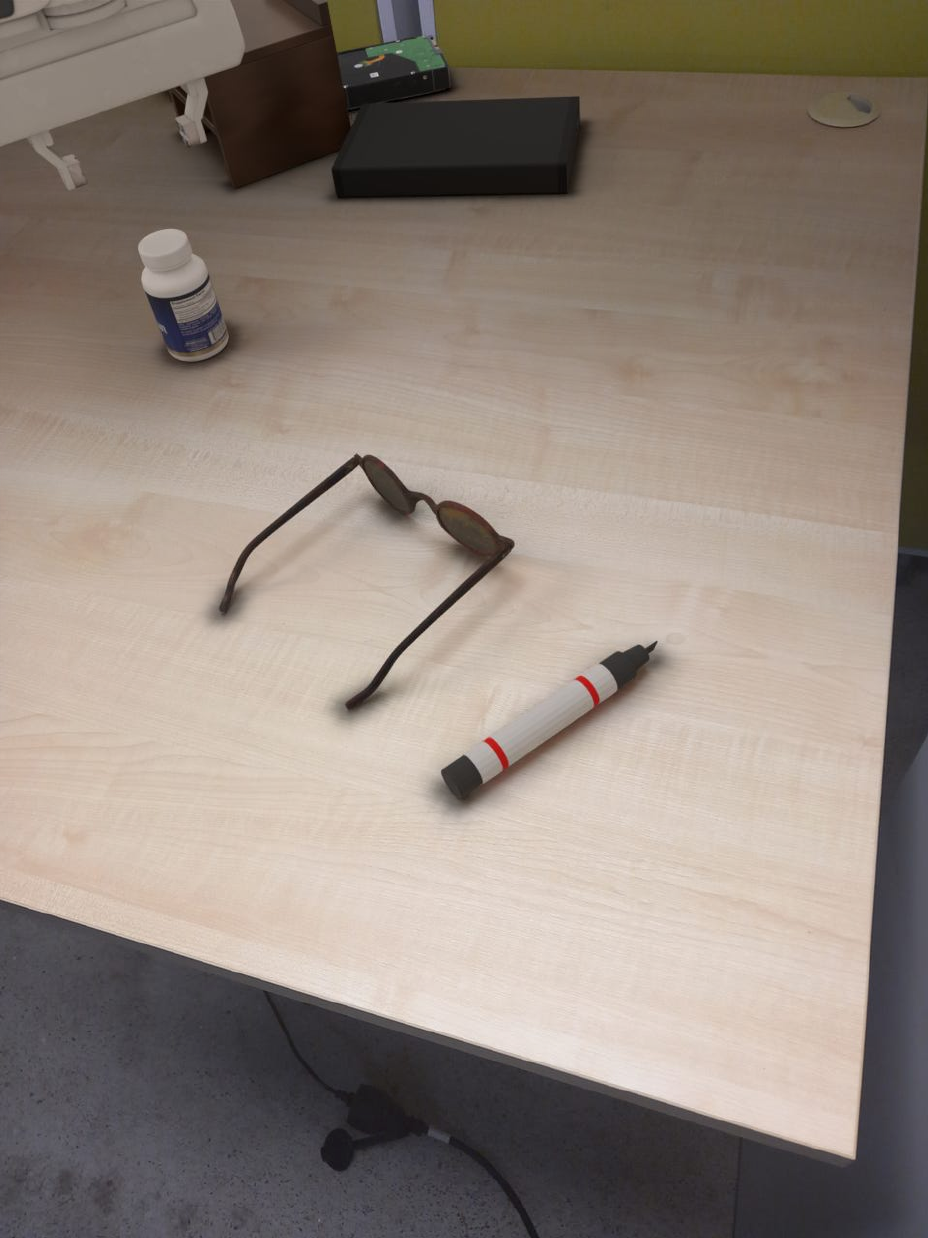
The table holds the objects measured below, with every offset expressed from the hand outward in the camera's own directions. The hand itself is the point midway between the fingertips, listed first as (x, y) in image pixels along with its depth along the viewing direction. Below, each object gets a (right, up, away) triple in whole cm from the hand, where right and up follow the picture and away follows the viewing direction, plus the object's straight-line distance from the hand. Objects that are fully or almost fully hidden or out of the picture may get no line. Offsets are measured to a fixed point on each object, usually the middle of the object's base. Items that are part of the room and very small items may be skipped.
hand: (136, 163), depth 76 cm
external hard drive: (+24, +13, +29) cm, 40 cm away
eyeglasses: (+18, -32, -8) cm, 38 cm away
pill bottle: (+2, -10, +12) cm, 16 cm away
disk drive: (+15, +28, +42) cm, 53 cm away
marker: (+30, -40, -16) cm, 53 cm away
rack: (+3, +19, +36) cm, 41 cm away
